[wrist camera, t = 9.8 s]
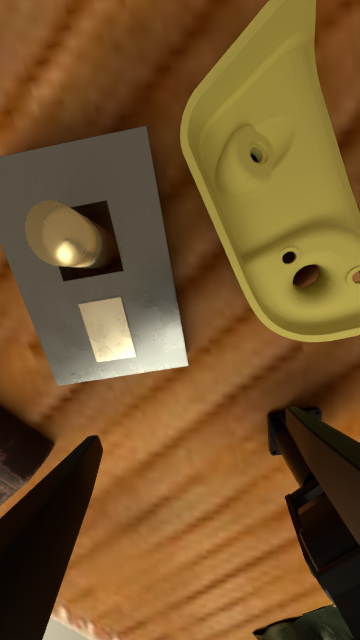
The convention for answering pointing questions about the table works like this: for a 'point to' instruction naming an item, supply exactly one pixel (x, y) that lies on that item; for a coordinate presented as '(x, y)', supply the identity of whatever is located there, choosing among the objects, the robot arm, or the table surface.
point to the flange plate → (103, 290)
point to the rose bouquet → (311, 627)
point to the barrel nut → (68, 237)
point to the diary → (18, 455)
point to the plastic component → (277, 176)
